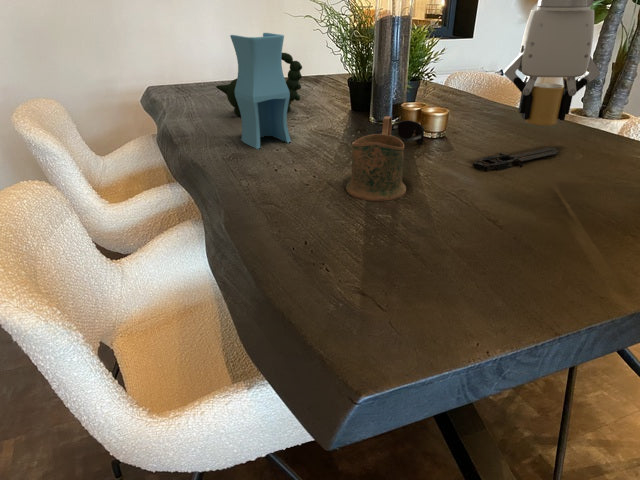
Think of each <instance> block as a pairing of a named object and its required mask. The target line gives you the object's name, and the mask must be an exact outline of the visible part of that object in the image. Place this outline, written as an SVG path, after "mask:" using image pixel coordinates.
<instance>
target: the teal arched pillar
mask: <svg viewBox="0 0 640 480" xmlns="http://www.w3.org/2000/svg"><path fill="white" fill-rule="evenodd" d="M229 37H230V39H231V42H232V45H233V48H234V50H235V51H234V52H235V55H236V56H235V57H236V61H237V83H236V87H235V97H236V100H237V103H238V106H239V110H240V113H241V116H240V118H241V142H242V141H243V142H242V143H244V144H246V145H247V146H250V147H252V148H253V147H254V149H255V148H256V149H255V150H260V149H261V138H264V136H273V137H274V138H275V137H276V138H275V139H277V138H278V140H280V141H282V142H284V141H285V142H284V143H286V142H287V143H286V144H290V143H289V142H291V143H292V140H291V137H290V132H289V128H288V112H287V109H288V104H289V99H290V92H289V89H288V87H287V84H286V81H287V80H286V79H285V76H284V73H283V72H284V71H283V66H282V65H283V64H282V61H283V60H281V57H282V53H283V46H284V40H285V35H284V34H279V33H272V32H263V33H262V36H242V35H237V34H230V35H229ZM259 148H260V149H259Z"/></svg>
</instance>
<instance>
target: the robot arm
mask: <svg viewBox="0 0 640 480" xmlns="http://www.w3.org/2000/svg"><path fill="white" fill-rule="evenodd" d="M597 1H598V2H601V1H602V0H538V1H537V7H536V9H531V10H530V13H529V15H528V19H527V21H526V25H525V27H524V33H523V35H522V40H521V44H520V49H519V53H518V55H517V56H516V57H515V58H514V59H513V60H512V62H511V63H510V64H509V65H508V66H507V67H506V68H505V69H504V70H503V75H504V76H505V77H506V78H507V79H509V80H510V82H511V83H513V84H514V85H515V87H516V88H517V89H518V90H519V91H520V100H519V106H518V114H520V117H521V118H522V119H523V120H525V121H526V120H527V119H529V115H530V110H531V104H532V99H533V96H532V95H531V90H532V88H533V86H534V84H536V82H537V79H538V78H562V83H563V86H564V87H565V88H564V93H563V97H562V102H561V107H560V112H559V117H558V121H565V119H566V115H569V114H570V110H571V105H572V101H573V97H574V96H576V94H577V93H578V92H579V91H580V90H582V89H583V88H584V87H585V86H586V85H588V83H591V82H592V81H594V80H595V79H597V78H599V77H600V75H601V71H600V70H599V68H598V66H597V65H596V63H595V61H594V60H593V58H592V56H591V55H592V47H593V41H594V31H595V9H592V6H593V5H594V3H595V2H597ZM517 71H519V72H520V73H521V74H522V75H523V76H524V79H522V78H521V77H520V76H519V75H517V73H516V72H517ZM576 78H577V79H576Z"/></svg>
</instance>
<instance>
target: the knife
mask: <svg viewBox="0 0 640 480" xmlns="http://www.w3.org/2000/svg"><path fill="white" fill-rule="evenodd" d="M559 150H560V148H553V147H552V148H549V147H547V148H542V149H538V150H532V151H528V152H523V153H518V154H514V155H513V154H512V155H511V154H510V153H506V152H504V153H503V152H499V155H488V156H485V157H484V156H483V157H481V158H480V159H478V160H474V161H473V162H472V167H474V169H476V170H484V172H489V171H501V170H502V171H503V170H506V169H509V168H511V167H513V166H518V167H520V168H523V166H524V165H523V164H524V162H526V161H527V162H528V161H531V160H535V159H536V160H537V159H540V158H543V157H548V156H553V155H556V154H558V152H559Z"/></svg>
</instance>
